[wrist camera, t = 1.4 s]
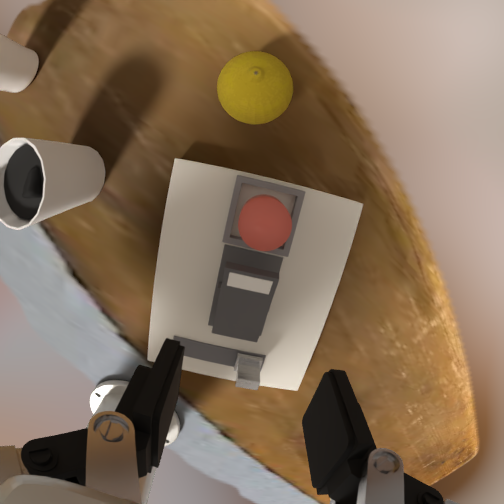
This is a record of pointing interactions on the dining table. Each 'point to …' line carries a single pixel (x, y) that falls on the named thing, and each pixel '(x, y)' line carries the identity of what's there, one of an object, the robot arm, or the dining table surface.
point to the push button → (264, 223)
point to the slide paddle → (248, 371)
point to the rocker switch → (244, 301)
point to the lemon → (255, 87)
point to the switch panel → (237, 251)
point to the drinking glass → (16, 65)
